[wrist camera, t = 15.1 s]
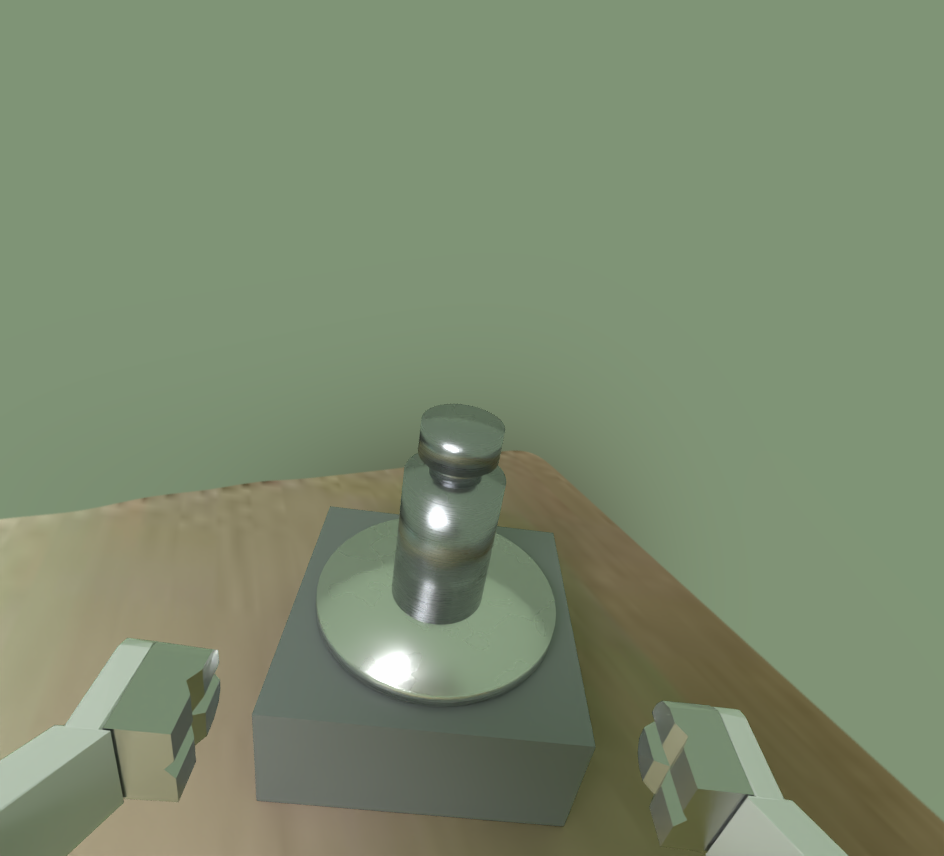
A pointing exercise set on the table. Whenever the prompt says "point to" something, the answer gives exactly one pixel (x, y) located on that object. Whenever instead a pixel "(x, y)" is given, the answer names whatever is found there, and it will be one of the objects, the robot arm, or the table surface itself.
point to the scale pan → (433, 625)
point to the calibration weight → (449, 514)
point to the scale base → (420, 721)
